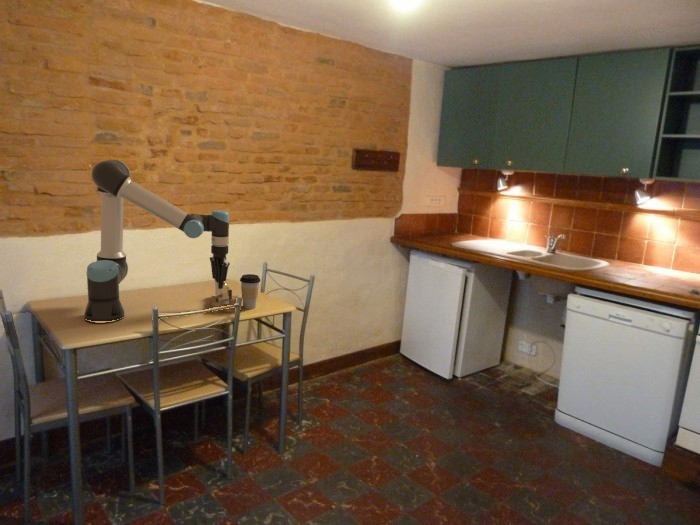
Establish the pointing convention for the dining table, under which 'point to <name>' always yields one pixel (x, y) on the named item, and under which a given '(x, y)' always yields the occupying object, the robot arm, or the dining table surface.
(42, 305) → the dining table surface
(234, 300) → the tan stepped block
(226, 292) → the latch bar
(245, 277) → the coffee cup
